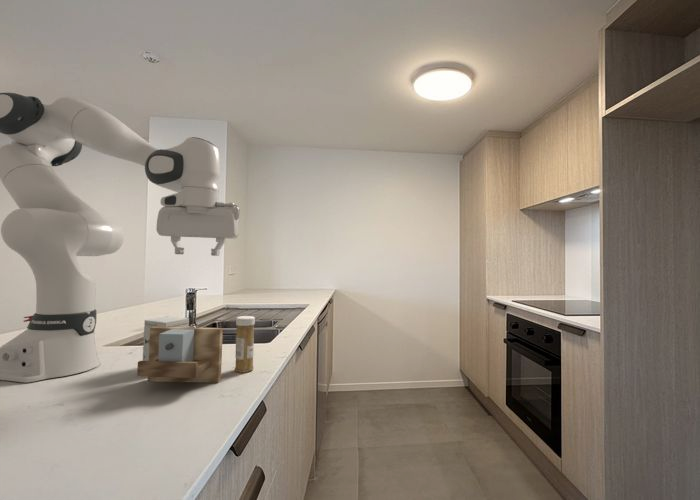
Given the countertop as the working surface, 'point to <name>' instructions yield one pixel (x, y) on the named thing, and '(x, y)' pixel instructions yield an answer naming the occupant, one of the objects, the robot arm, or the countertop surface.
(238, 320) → the sprinkles bottle
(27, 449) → the countertop surface
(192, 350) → the cabinet box
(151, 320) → the supplement box
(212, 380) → the wall board
